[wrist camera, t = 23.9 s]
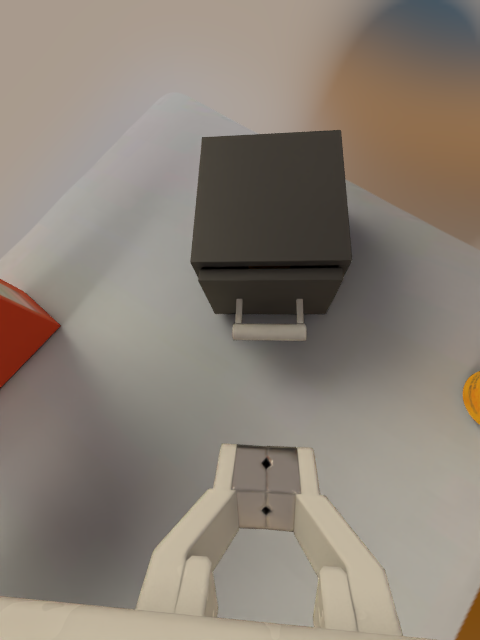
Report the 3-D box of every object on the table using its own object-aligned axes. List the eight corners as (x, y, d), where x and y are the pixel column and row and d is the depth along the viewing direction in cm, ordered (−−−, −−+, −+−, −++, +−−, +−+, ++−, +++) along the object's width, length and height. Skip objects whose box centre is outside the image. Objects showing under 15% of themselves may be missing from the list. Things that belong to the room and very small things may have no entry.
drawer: (327, 351, 34) (347, 327, 25) (212, 349, 35) (194, 326, 26) (320, 215, 39) (334, 158, 31) (220, 218, 40) (207, 164, 32)
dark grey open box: (329, 306, 36) (352, 260, 26) (211, 305, 38) (190, 262, 27) (323, 203, 41) (341, 129, 30) (218, 206, 42) (202, 137, 32)
